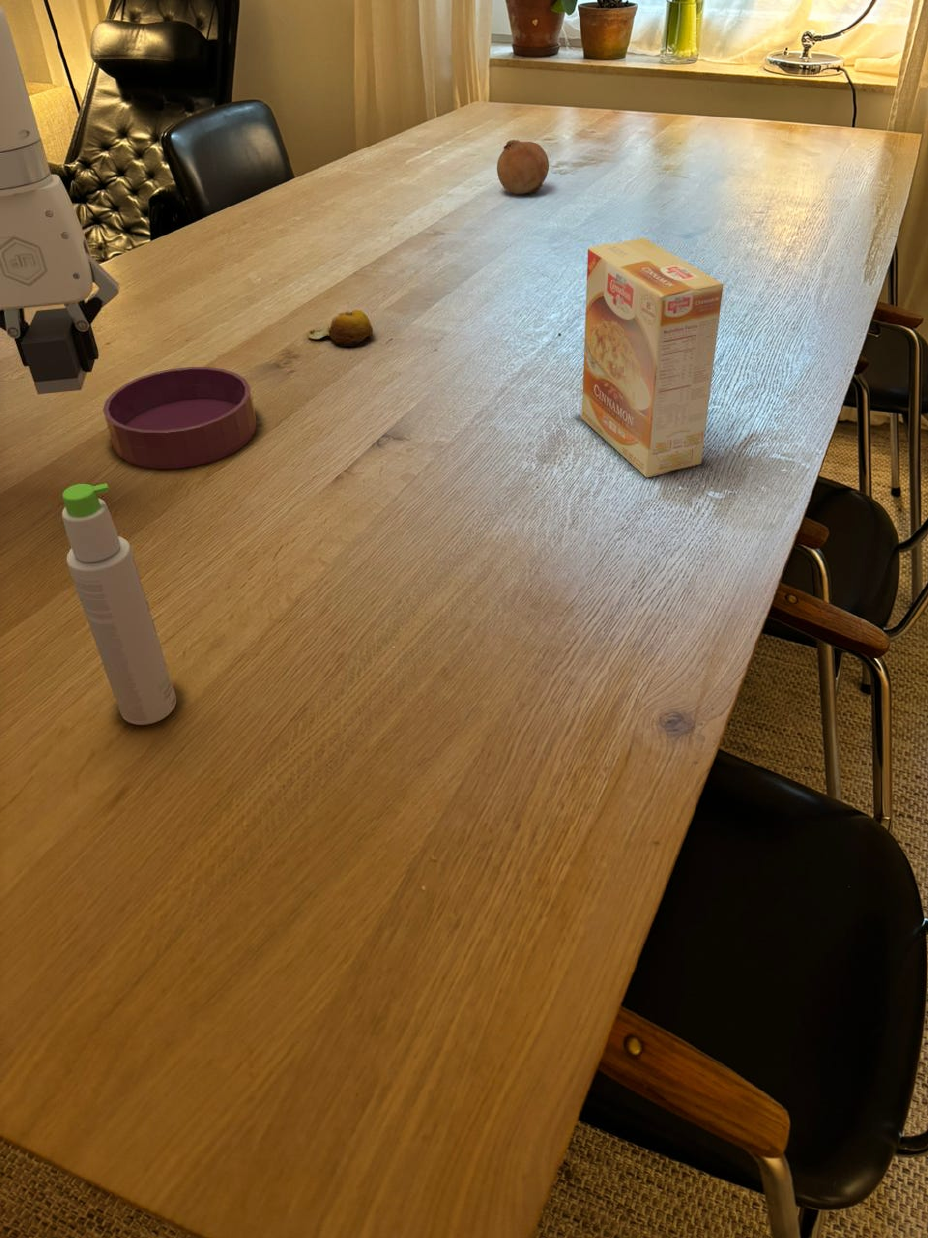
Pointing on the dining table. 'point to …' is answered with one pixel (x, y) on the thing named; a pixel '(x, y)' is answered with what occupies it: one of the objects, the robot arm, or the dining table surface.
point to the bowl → (181, 417)
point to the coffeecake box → (649, 353)
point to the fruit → (346, 329)
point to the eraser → (53, 352)
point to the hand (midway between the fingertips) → (64, 367)
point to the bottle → (116, 607)
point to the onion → (522, 167)
